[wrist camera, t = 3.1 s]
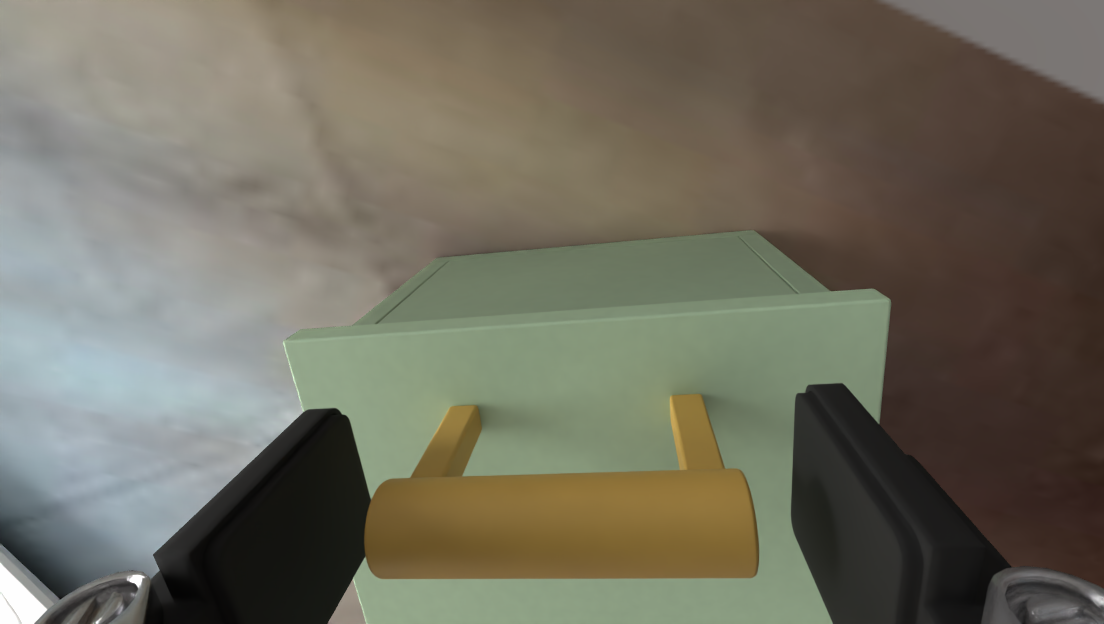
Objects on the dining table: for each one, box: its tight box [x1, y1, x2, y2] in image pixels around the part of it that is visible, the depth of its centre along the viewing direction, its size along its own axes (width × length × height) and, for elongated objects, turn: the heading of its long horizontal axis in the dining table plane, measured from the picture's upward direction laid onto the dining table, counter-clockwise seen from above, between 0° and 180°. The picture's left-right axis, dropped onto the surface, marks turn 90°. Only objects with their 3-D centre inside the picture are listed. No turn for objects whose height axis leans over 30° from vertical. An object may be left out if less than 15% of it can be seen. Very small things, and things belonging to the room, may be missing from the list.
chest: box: [352, 230, 831, 326], centre depth 20 cm, size 15×13×10 cm
